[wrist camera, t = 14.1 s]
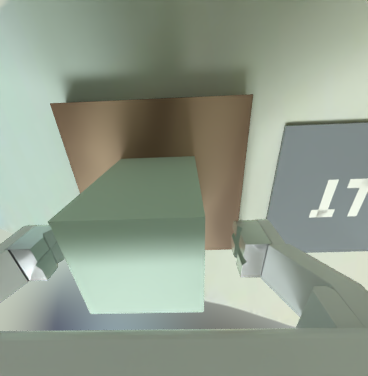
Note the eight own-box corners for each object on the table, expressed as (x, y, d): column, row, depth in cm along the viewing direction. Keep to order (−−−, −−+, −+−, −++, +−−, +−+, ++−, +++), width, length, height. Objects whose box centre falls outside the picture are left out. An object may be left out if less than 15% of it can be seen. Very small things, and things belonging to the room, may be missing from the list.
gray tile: (461, 118, 12) (465, 118, 12) (382, 249, 17) (384, 250, 17) (285, 125, 12) (286, 125, 12) (259, 252, 18) (260, 253, 17)
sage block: (194, 156, 12) (205, 217, 5) (195, 217, 14) (203, 312, 8) (120, 158, 12) (47, 221, 6) (133, 219, 14) (90, 313, 8)
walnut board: (245, 95, 11) (253, 94, 10) (230, 237, 17) (235, 249, 15) (65, 103, 12) (49, 103, 10) (106, 240, 17) (100, 252, 16)
